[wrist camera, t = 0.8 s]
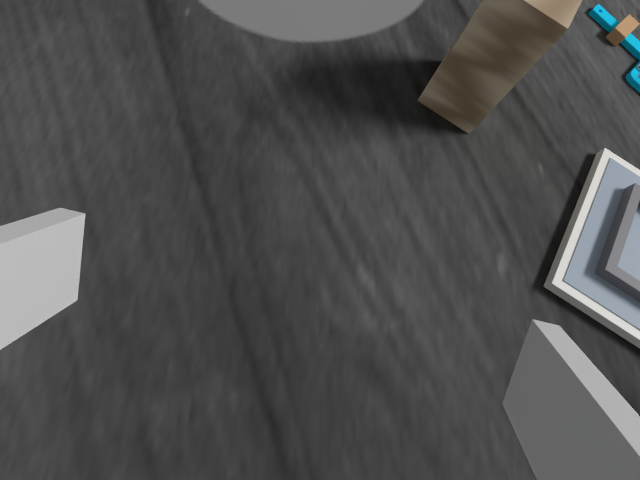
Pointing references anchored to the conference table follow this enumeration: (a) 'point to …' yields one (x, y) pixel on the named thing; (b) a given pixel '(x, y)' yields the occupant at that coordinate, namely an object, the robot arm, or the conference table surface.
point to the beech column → (494, 56)
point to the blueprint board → (603, 248)
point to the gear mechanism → (621, 38)
